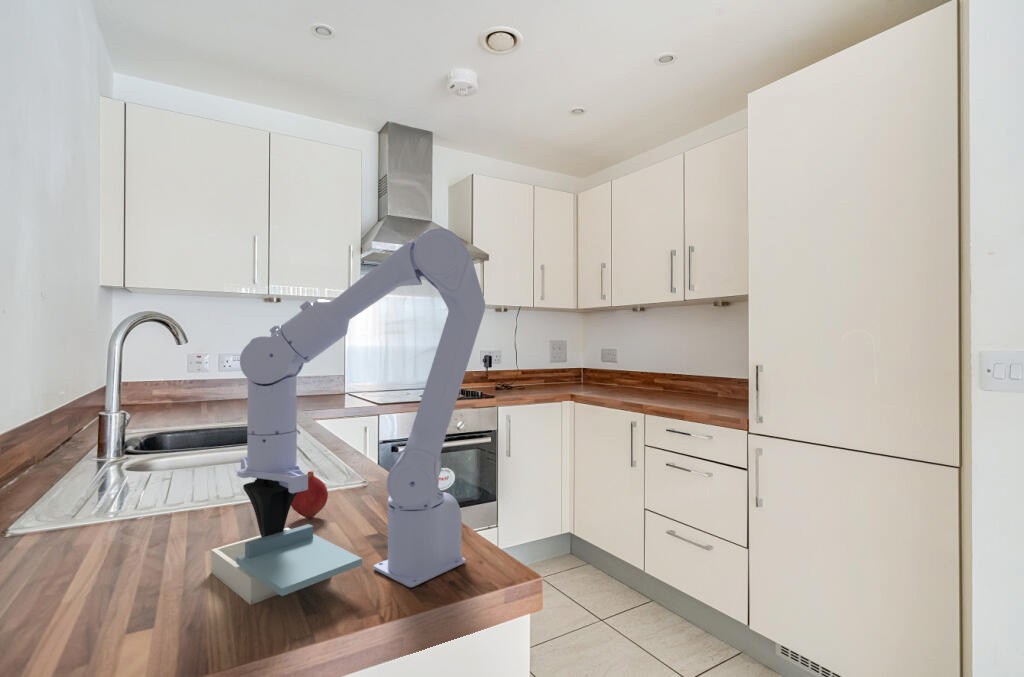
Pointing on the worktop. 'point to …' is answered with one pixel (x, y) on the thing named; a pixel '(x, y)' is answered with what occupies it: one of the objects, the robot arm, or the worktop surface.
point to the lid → (295, 559)
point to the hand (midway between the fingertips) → (272, 537)
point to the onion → (311, 497)
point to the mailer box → (238, 572)
